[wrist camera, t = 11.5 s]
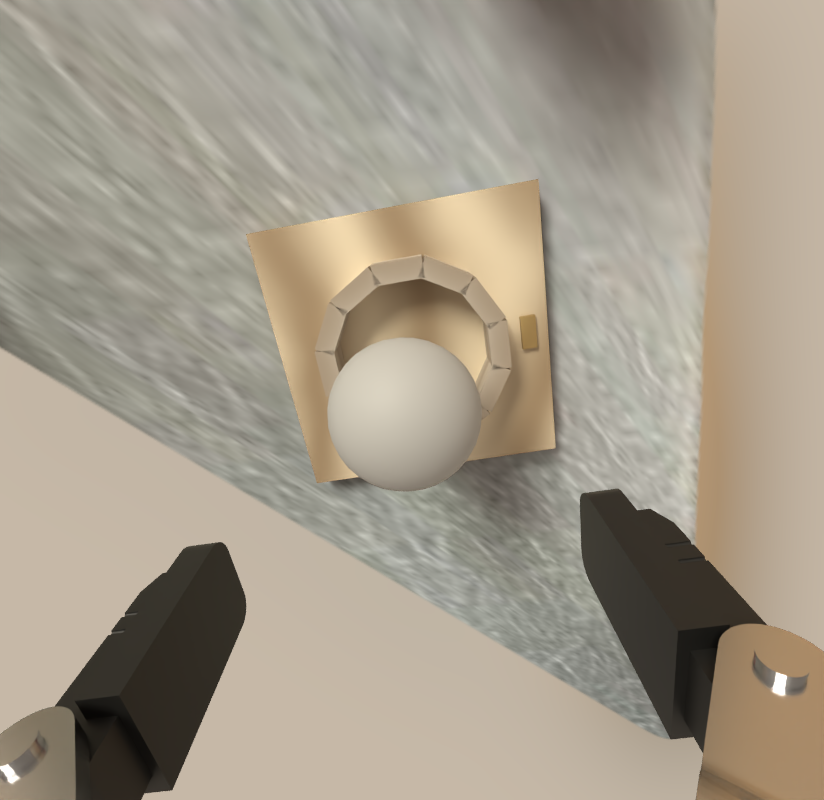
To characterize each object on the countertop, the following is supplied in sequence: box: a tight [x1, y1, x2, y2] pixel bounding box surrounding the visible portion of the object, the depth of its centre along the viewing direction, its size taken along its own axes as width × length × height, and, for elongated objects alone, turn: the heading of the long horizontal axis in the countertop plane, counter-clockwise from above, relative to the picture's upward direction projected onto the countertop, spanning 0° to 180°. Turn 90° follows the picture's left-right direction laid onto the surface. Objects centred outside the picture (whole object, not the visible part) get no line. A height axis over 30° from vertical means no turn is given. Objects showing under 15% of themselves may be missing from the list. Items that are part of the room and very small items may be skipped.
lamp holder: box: [246, 179, 556, 483], centre depth 25 cm, size 15×15×4 cm
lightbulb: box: [327, 337, 482, 491], centre depth 20 cm, size 6×6×11 cm
